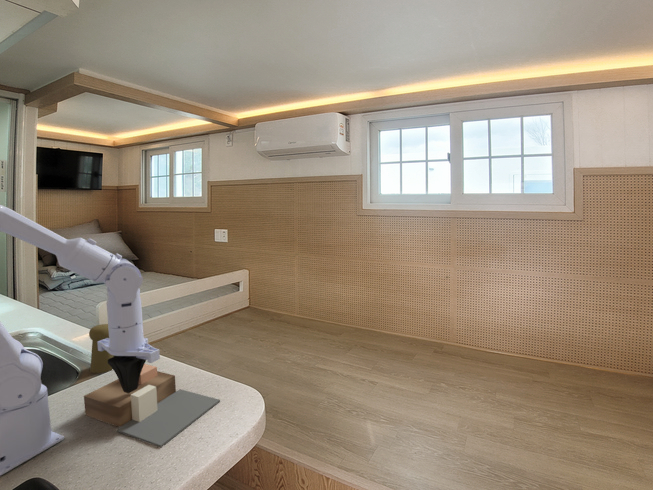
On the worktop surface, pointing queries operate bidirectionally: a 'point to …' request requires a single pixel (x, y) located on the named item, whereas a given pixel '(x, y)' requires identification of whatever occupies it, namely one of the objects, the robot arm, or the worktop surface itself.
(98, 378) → the worktop surface
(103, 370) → the olive tall rounded piece
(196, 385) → the worktop surface
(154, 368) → the terracotta tile
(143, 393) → the cream tile
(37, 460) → the worktop surface
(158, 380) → the walnut board
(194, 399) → the rubber mat
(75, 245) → the robot arm
